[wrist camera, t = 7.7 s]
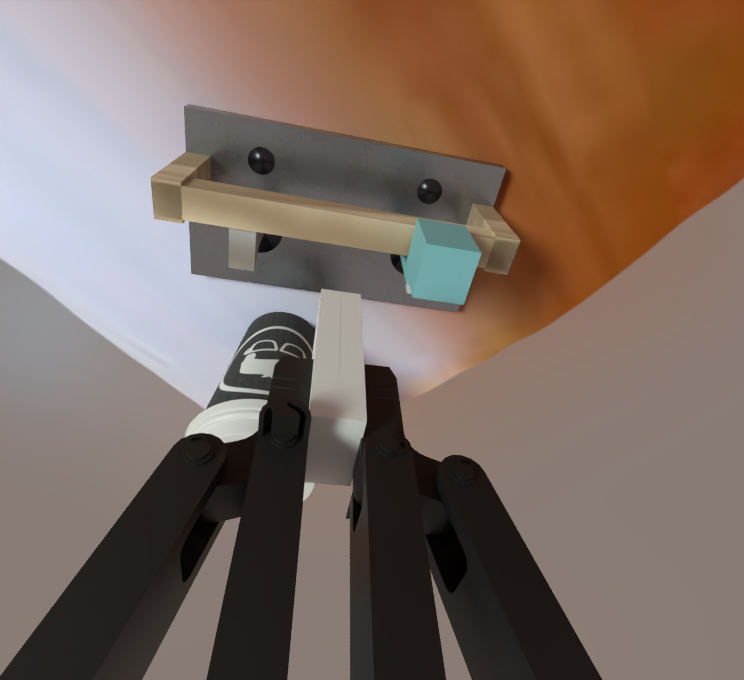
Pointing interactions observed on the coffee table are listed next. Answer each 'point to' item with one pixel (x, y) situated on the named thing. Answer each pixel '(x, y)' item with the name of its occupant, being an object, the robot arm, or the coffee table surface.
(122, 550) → the robot arm
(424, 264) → the slider block
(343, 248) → the bolt plate
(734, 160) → the coffee table surface
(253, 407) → the coffee cup
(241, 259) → the wooden rail
